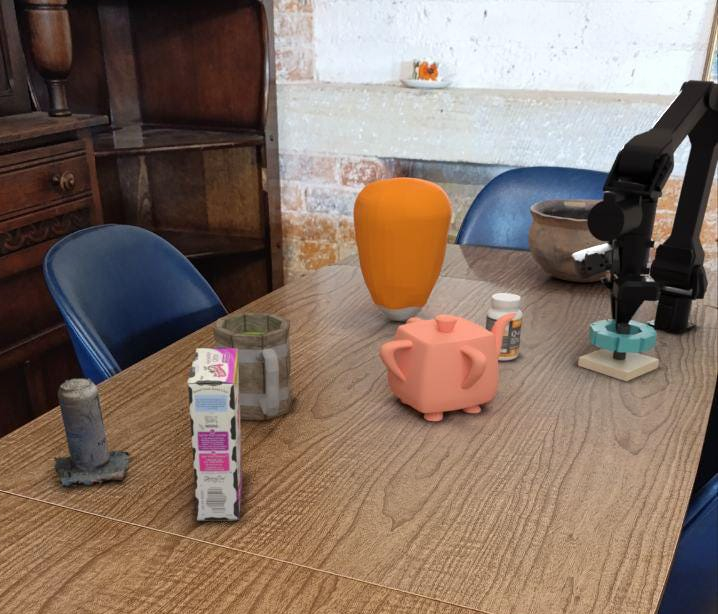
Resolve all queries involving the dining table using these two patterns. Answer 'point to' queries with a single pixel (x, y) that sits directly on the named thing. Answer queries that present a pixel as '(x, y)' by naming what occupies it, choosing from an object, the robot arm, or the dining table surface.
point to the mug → (259, 361)
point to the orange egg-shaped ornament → (401, 242)
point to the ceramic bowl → (562, 236)
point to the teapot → (444, 364)
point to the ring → (622, 336)
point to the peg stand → (618, 361)
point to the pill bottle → (512, 333)
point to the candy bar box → (216, 433)
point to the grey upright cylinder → (86, 437)
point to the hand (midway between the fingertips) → (617, 328)
